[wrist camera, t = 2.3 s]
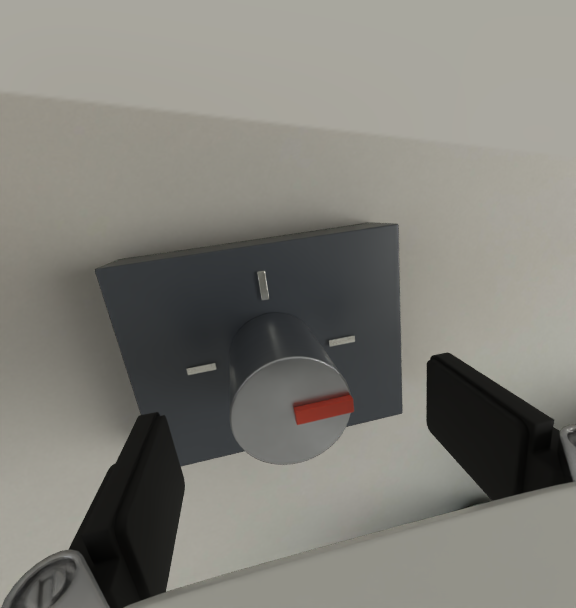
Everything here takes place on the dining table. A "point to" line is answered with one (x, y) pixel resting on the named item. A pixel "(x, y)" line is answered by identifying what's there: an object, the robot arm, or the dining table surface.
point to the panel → (246, 306)
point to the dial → (285, 391)
